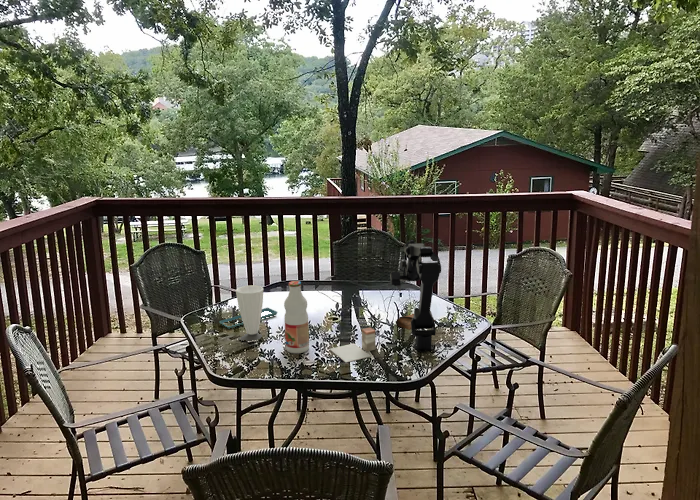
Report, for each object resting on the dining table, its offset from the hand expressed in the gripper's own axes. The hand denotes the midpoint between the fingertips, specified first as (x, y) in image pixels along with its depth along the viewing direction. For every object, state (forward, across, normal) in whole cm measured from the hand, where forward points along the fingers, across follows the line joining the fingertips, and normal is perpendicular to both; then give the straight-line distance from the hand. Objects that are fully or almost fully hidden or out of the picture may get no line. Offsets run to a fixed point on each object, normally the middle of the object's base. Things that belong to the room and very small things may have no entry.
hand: (410, 291), depth 235 cm
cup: (+7, +69, +21) cm, 72 cm away
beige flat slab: (-4, +28, +36) cm, 46 cm away
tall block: (-2, +20, +33) cm, 38 cm away
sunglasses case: (+12, -3, +9) cm, 16 cm away
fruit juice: (0, +49, +32) cm, 58 cm away
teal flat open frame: (+18, +74, +4) cm, 76 cm away
